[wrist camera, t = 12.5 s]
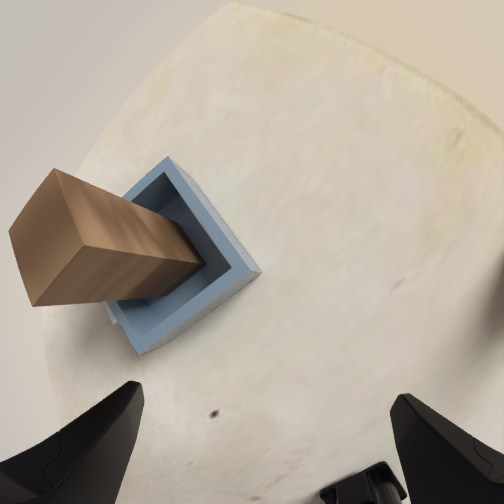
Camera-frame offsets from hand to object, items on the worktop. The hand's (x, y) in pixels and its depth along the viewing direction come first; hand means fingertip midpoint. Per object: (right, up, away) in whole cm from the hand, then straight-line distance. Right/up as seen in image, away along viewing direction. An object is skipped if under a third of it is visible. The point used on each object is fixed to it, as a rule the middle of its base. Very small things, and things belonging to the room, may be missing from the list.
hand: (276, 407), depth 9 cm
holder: (-7, +4, +14) cm, 16 cm away
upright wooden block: (-7, +4, +13) cm, 16 cm away
